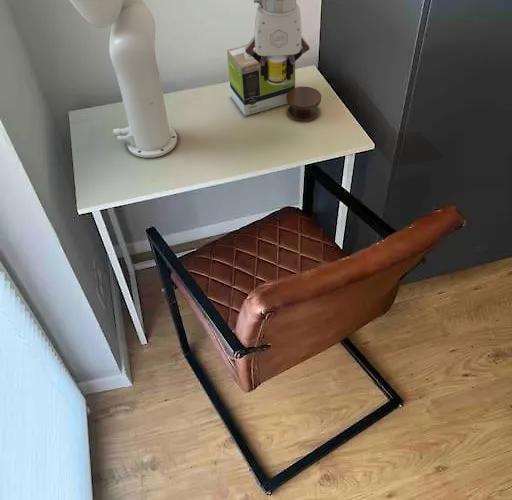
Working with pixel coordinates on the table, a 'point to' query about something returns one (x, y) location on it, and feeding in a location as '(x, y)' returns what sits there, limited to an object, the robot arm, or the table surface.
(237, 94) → the tea box
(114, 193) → the table surface
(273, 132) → the table surface
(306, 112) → the stand
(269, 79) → the supplement bottle
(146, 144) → the robot arm
